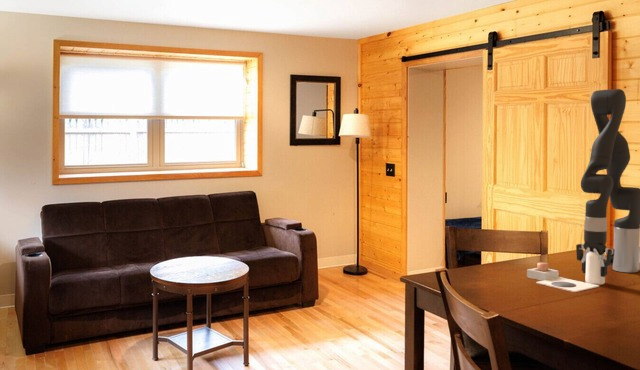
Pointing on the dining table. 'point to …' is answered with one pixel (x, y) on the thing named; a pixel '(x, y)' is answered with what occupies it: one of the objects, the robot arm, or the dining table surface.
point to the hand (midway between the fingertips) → (594, 274)
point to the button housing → (542, 274)
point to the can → (593, 269)
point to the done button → (542, 267)
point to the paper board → (567, 284)
